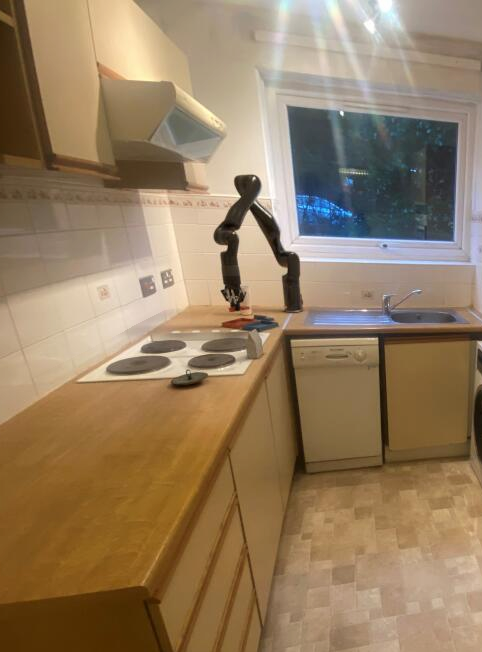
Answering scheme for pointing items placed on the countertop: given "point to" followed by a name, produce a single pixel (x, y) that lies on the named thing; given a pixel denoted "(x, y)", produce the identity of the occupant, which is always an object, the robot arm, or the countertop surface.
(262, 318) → the slate spoon
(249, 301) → the drinking glass
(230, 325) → the terracotta tray
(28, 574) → the countertop surface
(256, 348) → the grey stone block
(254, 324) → the slate tray
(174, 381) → the lid
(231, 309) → the terracotta spoon
